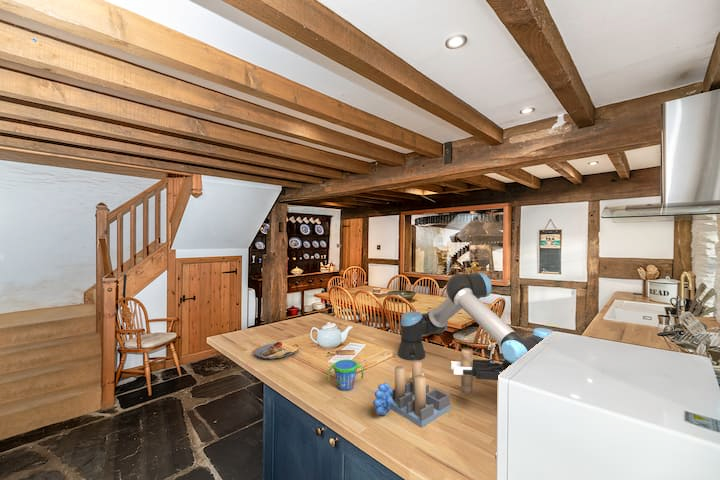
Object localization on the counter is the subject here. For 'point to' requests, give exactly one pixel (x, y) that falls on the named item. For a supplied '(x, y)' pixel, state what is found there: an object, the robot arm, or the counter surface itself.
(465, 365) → the loose leg
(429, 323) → the robot arm
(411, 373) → the tiered building model
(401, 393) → the stool
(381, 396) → the grapes
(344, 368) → the snack cup
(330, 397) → the counter surface
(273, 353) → the food plate
